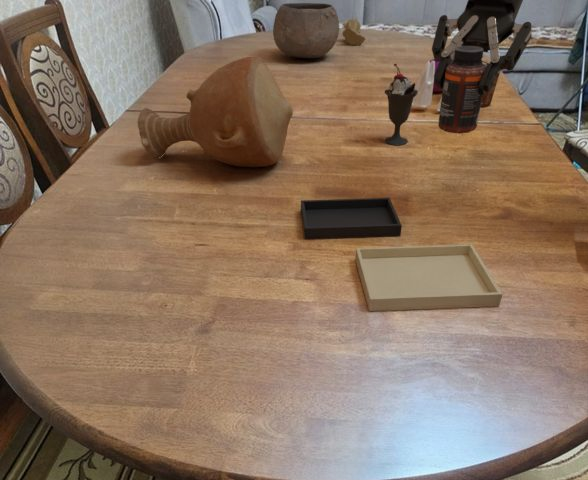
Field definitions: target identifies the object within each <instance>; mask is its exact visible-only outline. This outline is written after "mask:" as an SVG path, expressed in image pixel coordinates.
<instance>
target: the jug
mask: <svg viewBox="0 0 588 480" xmlns="http://www.w3.org/2000/svg"><path fill="white" fill-rule="evenodd" d="M186 98H187V100H189V101H190V109H189V112H188V113H187V114H184V115H182V116H178V117H161V116H159V114H158V113H156V112H155V111H154V110H152V109H150V108H148V107H144V108H142V110H141V111H140V113H139V114H138V117H137V128H138V134H139V137H140V141H141V145H142V147H143V148H144V149H145V151H146V153H147V154H148V155H149V156H150V157H151V158H152V159H154V160H158V159H157V158H159V157H161V156H162V155H163V154H164V153H165V154H166V152H167V150H168V148H170V147H171V146H172V145H174V144H178V143H180V142H194V143H197V144H198V145H199V147H200V148H201V149H202V150H203V151H204V152H205V153H206V154H208V155H209V156H210V157H212V158H214V159H215V160H217V161H219V162H221V163H224V164H227V165H229V166H235V167H242V168H244V167H245V168H259V167H260V168H261V167H268V166H272V165H275V164H276V163H278V162H279V161H280V160H281V158H282V156H283V152H284V148H285V144H286V139H287V136H288V129H289V124H290V121H291V119H292V116H293V114H294V109H293V106H292V104H291V103H290V102H289V101H288V99H286V96H285V95H284V94H283V92H282V90H281V88H280V86H279V84H278V81H277V80H276V77H275V76H274V74H273V72H272V71H271V70H270V68H269V67H268V65H267V64H266V63H265V62H264V61H263V60H261V59H260V58H258V57H256V56H247V57H242V58H239V59H235V60H233V61H231V62H229V63H227V64H225V65H223V66H221V67H219V68H217V69H216V70H215V71H213V72H212V73H211V74H210V75H209V76H208V77H207V78H206V79H205V80H204V81H202V83H201V84H200V86H199V87H198V88H197V89H196V90H193V89H189V90H188V91H187V93H186Z"/></svg>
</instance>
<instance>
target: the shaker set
mask: <svg viewBox="0 0 588 480" xmlns="http://www.w3.org/2000/svg"><path fill="white" fill-rule="evenodd" d="M429 61H430V60H429ZM429 61H427V62H426V63H425V65H424V66H423V68H422V70H421V72H420V73H419V76H418V78H417V81H416V83H415V88H414V90H417V91H418V93H417V95H416V96H415V97H414V98H413V102H412V106H411V109H414V110H418V111H423V110H426V109H427V108H428V107H429V106H431V105H432V100H433V93H434V92H433V82H434V73H435V62H434V61H431V63H430V62H429ZM441 100H442V96H441V97H440V100H439V101H438V103H437V106H436V107H435V111H436V112H440V107H441Z"/></svg>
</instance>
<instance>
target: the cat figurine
mask: <svg viewBox="0 0 588 480" xmlns="http://www.w3.org/2000/svg"><path fill="white" fill-rule="evenodd" d="M342 26H343V28H344V29H343V31H342V37H343V38H344V40H345V42H346V44H347V45H352V46H356V45H358V46H361V45H362V44H363V43H364V42H365V41H366V37H365V36H363V35H362V34H361V31H362V30H361V24H360V21H359V20H358V19H356V18H351V19H349V20H347V21H346V20H345V21H343V22H342Z"/></svg>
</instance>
